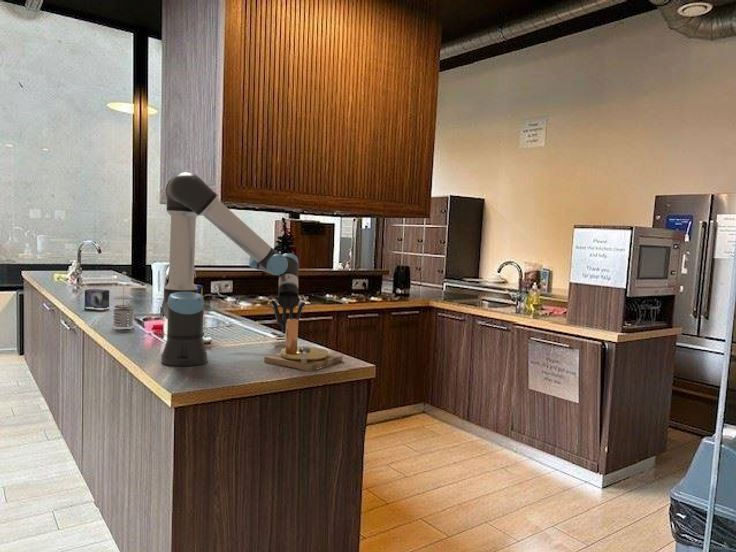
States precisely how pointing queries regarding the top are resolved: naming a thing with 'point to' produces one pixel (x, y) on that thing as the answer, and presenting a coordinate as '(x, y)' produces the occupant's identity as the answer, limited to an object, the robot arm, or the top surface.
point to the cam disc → (295, 351)
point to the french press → (123, 311)
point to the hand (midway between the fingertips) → (287, 340)
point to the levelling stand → (302, 361)
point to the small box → (97, 298)
